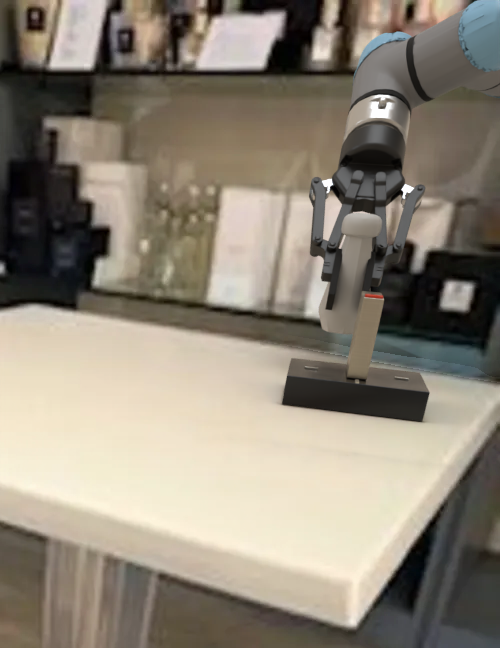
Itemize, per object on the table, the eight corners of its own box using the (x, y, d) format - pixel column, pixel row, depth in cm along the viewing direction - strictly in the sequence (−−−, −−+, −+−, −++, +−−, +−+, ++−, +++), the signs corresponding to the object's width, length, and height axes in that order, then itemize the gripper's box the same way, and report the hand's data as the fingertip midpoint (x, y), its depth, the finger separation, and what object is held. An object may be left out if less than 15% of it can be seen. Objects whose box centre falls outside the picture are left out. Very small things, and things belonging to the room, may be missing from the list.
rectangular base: (413, 399, 98) (420, 370, 96) (422, 421, 88) (430, 390, 87) (286, 384, 101) (291, 356, 100) (281, 404, 91) (287, 373, 90)
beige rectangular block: (345, 366, 96) (362, 288, 93) (364, 369, 96) (382, 290, 92) (346, 377, 91) (364, 294, 87) (366, 380, 90) (385, 296, 87)
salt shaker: (325, 334, 102) (349, 213, 96) (307, 326, 107) (329, 210, 101) (373, 336, 103) (399, 216, 97) (353, 328, 108) (377, 213, 102)
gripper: (310, 117, 105) (278, 274, 98) (451, 124, 102) (428, 288, 95) (303, 167, 112) (272, 317, 105) (434, 175, 109) (412, 332, 102)
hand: (346, 303), depth 100 cm, fingers closed on salt shaker, 3 cm apart
